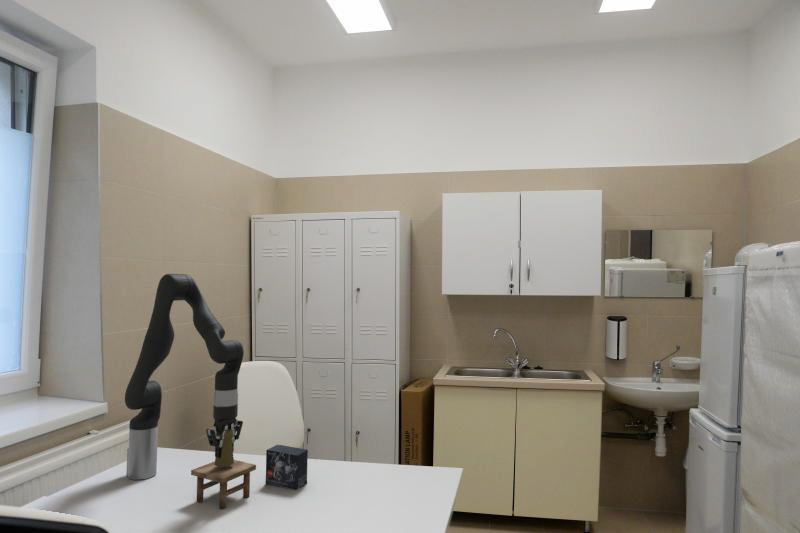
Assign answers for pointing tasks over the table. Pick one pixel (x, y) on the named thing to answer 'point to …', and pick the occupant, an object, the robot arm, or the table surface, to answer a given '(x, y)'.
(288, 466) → the small box
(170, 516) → the table surface
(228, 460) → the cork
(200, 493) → the stool
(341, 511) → the table surface
